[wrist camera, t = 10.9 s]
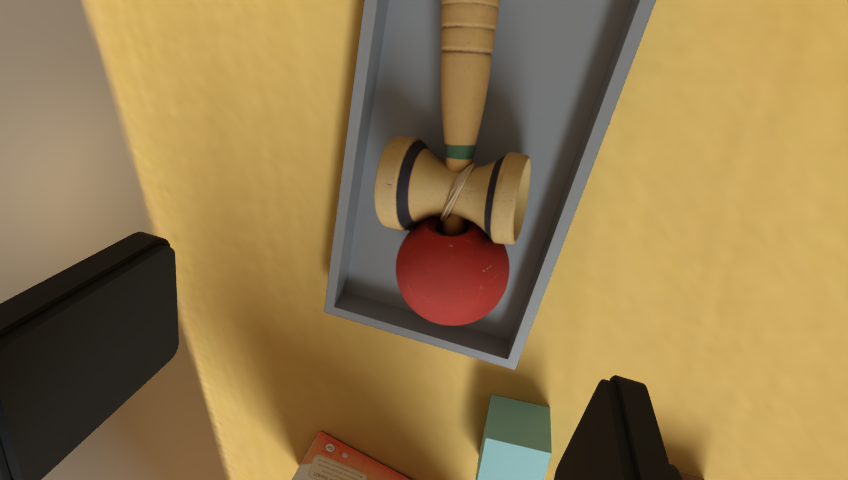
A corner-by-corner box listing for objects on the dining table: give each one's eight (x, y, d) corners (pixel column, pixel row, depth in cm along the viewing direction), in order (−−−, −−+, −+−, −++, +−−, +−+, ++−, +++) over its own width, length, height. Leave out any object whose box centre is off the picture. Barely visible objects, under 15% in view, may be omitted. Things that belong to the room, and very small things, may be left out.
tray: (672, -76, 20) (689, -87, 18) (516, 344, 31) (514, 370, 29) (399, -131, 22) (383, -148, 19) (338, 291, 32) (323, 312, 30)
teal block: (549, 405, 32) (551, 453, 29) (533, 466, 35) (532, 516, 32) (491, 393, 33) (486, 437, 30) (479, 453, 36) (472, 501, 32)
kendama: (387, -40, 24) (381, 293, 29) (370, -86, 18) (367, 346, 23) (542, -34, 24) (509, 299, 29) (579, -77, 18) (528, 354, 23)
